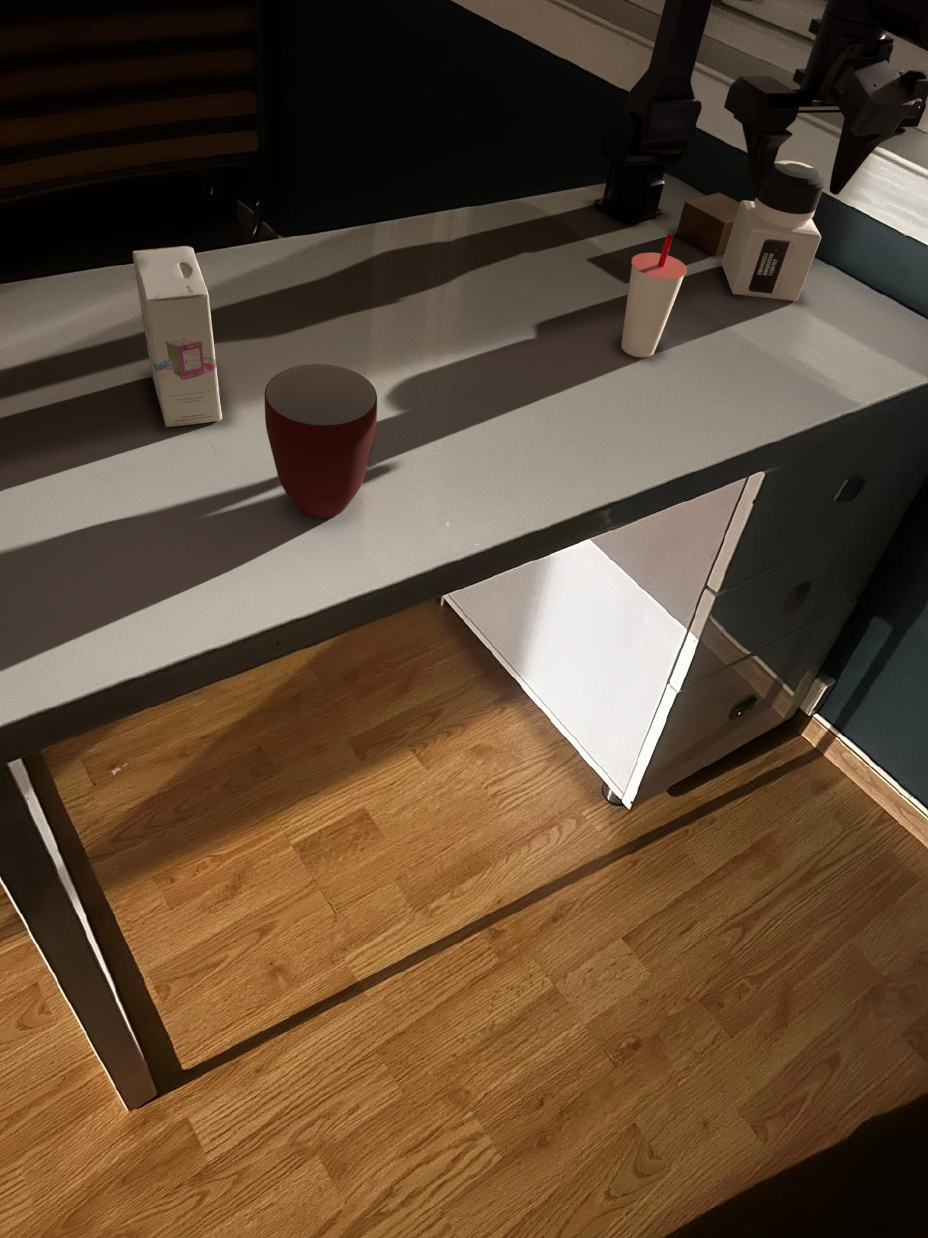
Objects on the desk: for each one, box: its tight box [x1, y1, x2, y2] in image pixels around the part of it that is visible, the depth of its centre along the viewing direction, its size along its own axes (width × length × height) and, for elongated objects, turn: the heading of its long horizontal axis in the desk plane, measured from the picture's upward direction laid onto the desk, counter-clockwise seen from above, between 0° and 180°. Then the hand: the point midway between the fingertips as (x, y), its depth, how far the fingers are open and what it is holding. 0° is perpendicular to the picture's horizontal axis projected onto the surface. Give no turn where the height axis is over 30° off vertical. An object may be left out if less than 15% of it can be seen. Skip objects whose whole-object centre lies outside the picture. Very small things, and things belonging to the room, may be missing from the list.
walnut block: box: [675, 192, 740, 256], centre depth 119 cm, size 6×6×4 cm
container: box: [721, 160, 826, 302], centre depth 109 cm, size 8×8×13 cm
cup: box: [621, 232, 688, 358], centre depth 95 cm, size 5×5×12 cm
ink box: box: [132, 245, 223, 428], centre depth 81 cm, size 9×5×12 cm, turn 21°
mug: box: [264, 363, 378, 519], centre depth 74 cm, size 10×8×10 cm
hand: (795, 194), depth 96 cm, fingers open, 9 cm apart
